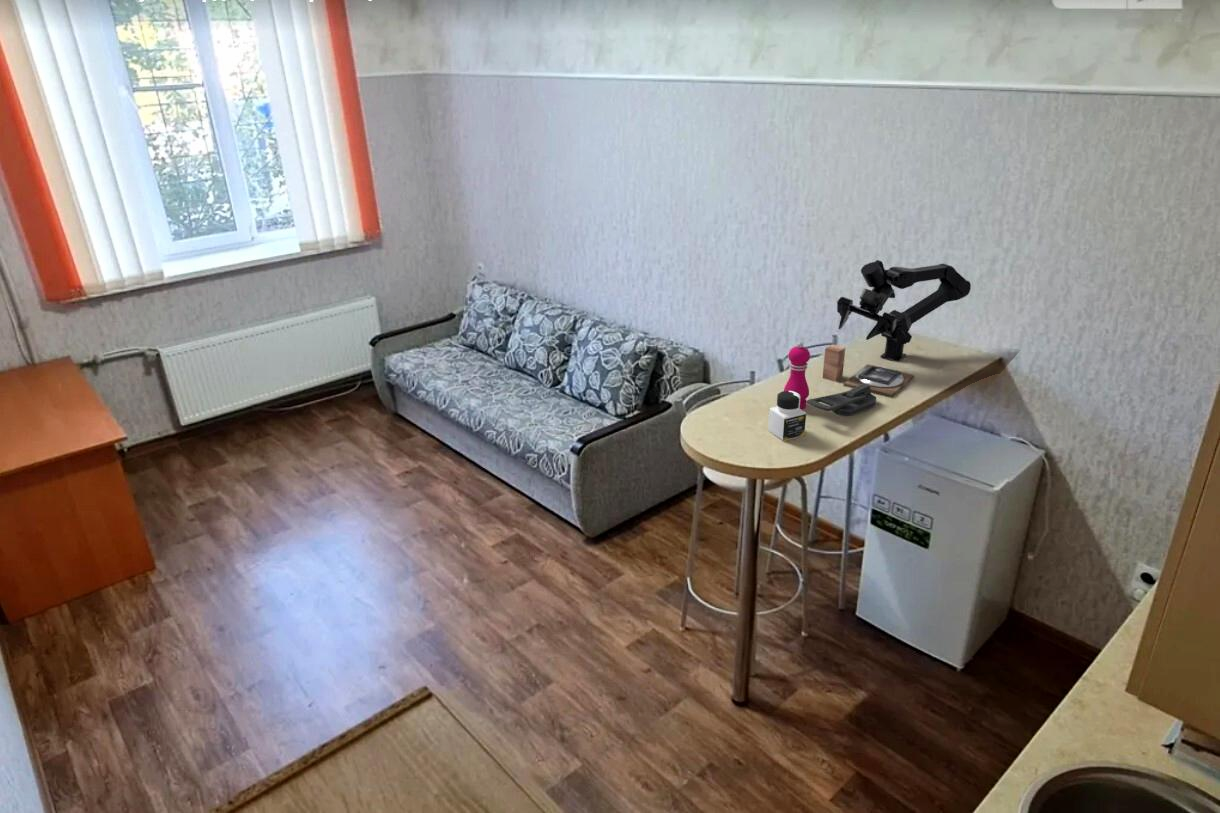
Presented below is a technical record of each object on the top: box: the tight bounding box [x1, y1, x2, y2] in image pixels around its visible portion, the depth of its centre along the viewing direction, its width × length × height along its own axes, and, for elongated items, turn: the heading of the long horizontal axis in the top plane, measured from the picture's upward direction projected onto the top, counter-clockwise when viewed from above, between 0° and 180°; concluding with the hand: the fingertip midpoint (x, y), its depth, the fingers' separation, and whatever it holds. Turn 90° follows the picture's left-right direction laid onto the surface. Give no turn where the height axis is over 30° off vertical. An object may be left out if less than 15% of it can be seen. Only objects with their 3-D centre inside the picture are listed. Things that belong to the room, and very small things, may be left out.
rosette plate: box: [855, 364, 903, 388], centre depth 239 cm, size 14×14×2 cm
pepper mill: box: [783, 341, 811, 410], centre depth 223 cm, size 7×7×20 cm
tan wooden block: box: [822, 344, 846, 382], centre depth 242 cm, size 4×4×10 cm
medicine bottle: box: [768, 390, 807, 442], centre depth 210 cm, size 7×7×12 cm
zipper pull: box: [806, 384, 877, 418], centre depth 221 cm, size 9×7×25 cm
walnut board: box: [843, 364, 915, 398], centre depth 240 cm, size 18×15×1 cm
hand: (852, 333), depth 240 cm, fingers open, 9 cm apart
